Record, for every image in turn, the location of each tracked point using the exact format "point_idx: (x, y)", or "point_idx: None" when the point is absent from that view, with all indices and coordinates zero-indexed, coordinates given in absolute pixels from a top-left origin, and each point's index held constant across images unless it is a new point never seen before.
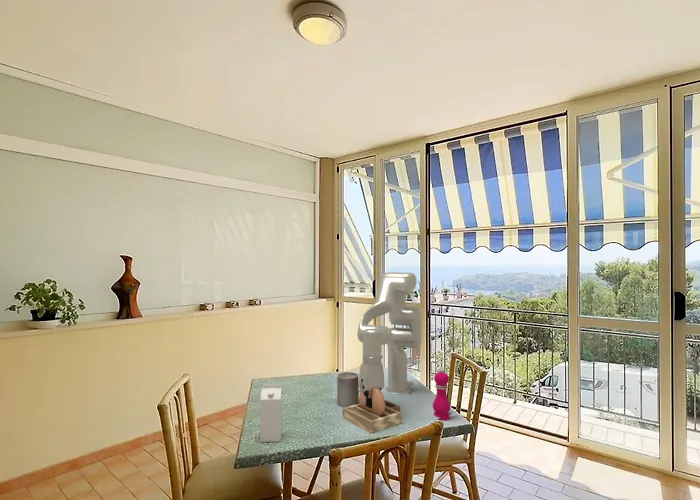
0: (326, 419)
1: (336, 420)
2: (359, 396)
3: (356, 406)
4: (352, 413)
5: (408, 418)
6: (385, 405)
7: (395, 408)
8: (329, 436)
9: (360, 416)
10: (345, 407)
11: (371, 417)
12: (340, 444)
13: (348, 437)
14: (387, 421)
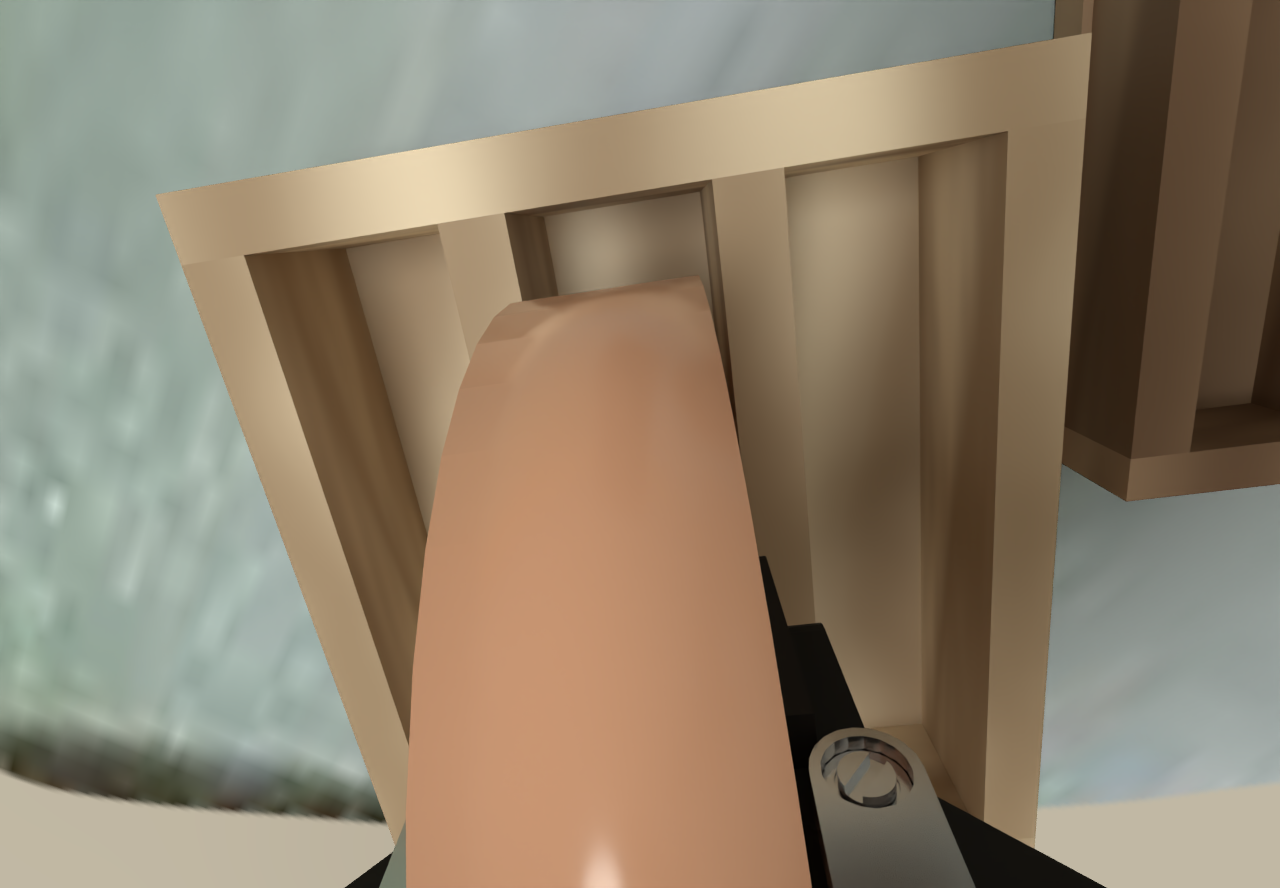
0: (60, 5)
1: (218, 141)
2: (500, 320)
3: (493, 257)
4: (282, 522)
5: (1207, 600)
6: (1202, 306)
7: (1249, 476)
8: (16, 569)
9: (351, 708)
10: (230, 187)
11: None
12: (100, 762)
13: (223, 682)
14: None
